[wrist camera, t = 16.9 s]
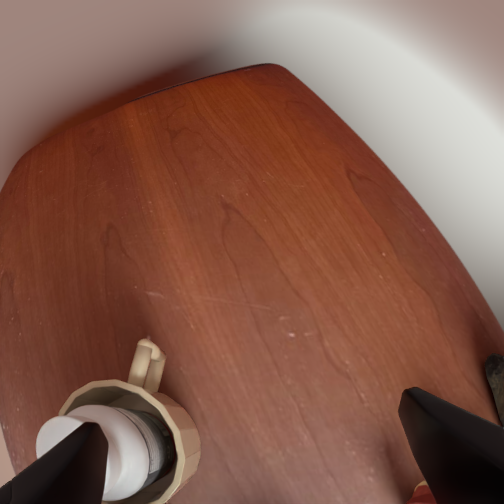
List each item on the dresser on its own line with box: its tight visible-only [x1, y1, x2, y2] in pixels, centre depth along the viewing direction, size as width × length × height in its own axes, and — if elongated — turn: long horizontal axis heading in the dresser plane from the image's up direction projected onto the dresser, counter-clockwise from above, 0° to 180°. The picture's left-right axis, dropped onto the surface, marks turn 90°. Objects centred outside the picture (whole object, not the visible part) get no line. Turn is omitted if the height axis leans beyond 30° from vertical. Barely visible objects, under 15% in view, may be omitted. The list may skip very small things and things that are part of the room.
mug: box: [58, 339, 201, 504], centre depth 17 cm, size 11×8×6 cm
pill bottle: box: [36, 405, 177, 501], centre depth 14 cm, size 5×5×10 cm
